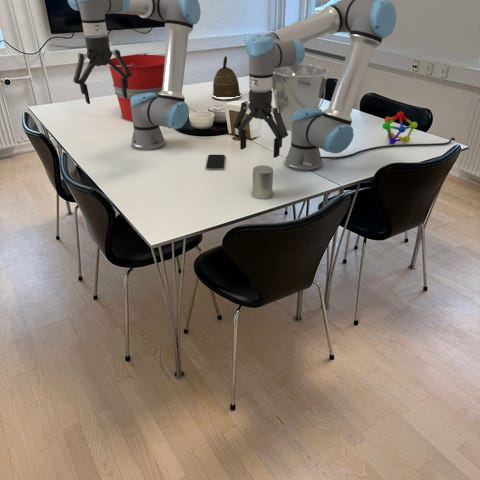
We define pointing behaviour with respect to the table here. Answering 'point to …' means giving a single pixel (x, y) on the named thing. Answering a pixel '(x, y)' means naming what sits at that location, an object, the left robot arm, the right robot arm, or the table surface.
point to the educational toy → (398, 128)
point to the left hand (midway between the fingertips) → (107, 100)
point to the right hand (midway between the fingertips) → (259, 152)
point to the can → (262, 181)
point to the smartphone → (215, 162)
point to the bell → (225, 82)
